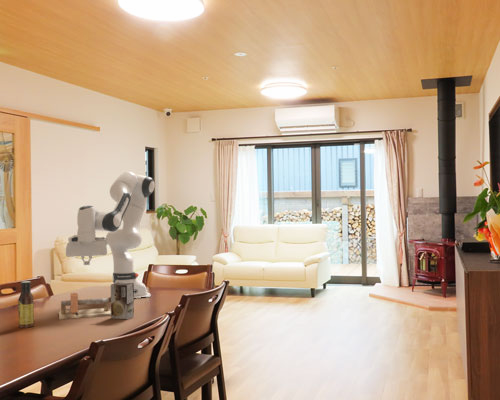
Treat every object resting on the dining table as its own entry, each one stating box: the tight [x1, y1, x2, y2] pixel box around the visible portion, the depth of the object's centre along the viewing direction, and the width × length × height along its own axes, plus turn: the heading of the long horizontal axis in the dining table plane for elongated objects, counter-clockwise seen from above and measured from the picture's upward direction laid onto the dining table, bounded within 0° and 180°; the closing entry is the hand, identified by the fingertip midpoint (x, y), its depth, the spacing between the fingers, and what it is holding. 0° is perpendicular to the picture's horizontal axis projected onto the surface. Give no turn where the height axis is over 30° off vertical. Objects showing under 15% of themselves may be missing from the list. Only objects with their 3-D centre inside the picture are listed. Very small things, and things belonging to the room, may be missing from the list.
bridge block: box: [70, 292, 79, 313], centre depth 258 cm, size 3×8×8 cm, turn 21°
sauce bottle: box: [17, 280, 35, 329], centre depth 234 cm, size 7×6×20 cm
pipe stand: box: [58, 297, 111, 320], centre depth 260 cm, size 24×14×7 cm, turn 111°
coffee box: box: [110, 283, 135, 320], centre depth 252 cm, size 9×6×16 cm
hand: (86, 264), depth 272 cm, fingers closed
